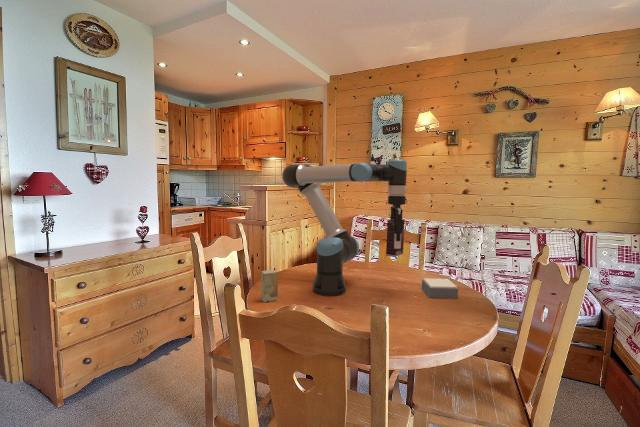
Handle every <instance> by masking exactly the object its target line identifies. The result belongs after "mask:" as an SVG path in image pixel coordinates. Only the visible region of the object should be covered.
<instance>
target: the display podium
mask: <svg viewBox="0 0 640 427" xmlns="http://www.w3.org/2000/svg"><path fill="white" fill-rule="evenodd" d="M422 278H423V277H422ZM421 290H422V291H423V292H424V293H425V295H426V296H427V297H428V298H429V299H458V298H459V288H458V286H457V285H456V284H454V283H453V282H452V281H451V280H450V279H448V278H427V277H425V278H423V279H422V280H421Z"/></svg>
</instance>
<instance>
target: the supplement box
mask: <svg viewBox="0 0 640 427" xmlns="http://www.w3.org/2000/svg"><path fill="white" fill-rule="evenodd" d="M405 221H406V220H405V219H403V218H402V229H403V232H402V233H401V249H395V248H394V233H393V232H395V220H394V219H391V220H390V219H387V223H386V224H387V226H386V228H387V229H386V230H387V231H386V244H385V245H386V248H385V256H387V257H391V258H397V257H399V256H401V255H404V242H405Z"/></svg>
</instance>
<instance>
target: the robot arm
mask: <svg viewBox="0 0 640 427" xmlns="http://www.w3.org/2000/svg"><path fill="white" fill-rule="evenodd" d="M407 163H408V162H407V160H405V159H399V158H397V159H389V161H388V163H386V164H377V163H376V164H375V163H366V162H358V163H347V164H331V165H318V166H317V165H315V166H313V165H310V164H297V163H293V164H292V163H291V164H289V165H287V166H286V167H285V168H284V169H283V171H282V175H281V176H282V177H281V178H282V180H283V183H284V184H285V185H286V186H287V187H289V188H292V189H298V191H299V193H300V195H301V196H304V197H306V199H307V201H308V203H309V206H310V207H311V209H312V211H313V213H314V215H315V217H316V219H317V220H318V223H319V225H320V227H321V228H322V230H323V232H324V233H325V235H326V237H324V238H322V239H320V240H319V241H318V242H317V244H316V275H315V279H314V281H313V284H312V291H313V293H315V294H317V295H320V296H326V297H328V296H329V297H336V296H340V295H343V294H346V292H347V284H346V282H345V277H344V275H343V264H345V263H347V262H350V261H352V260H353V259H355V258H356V257H357V255H358V253H359V250H360V245H359V242H358V240H357V239H356V237H354V236H352V235H350V233H349V232H348V230H347V229H343V227H342V225H341V223H340V221H339V219H338V217H337V216H336V214H335V213H334V210H333V209H332V207H331V205H330V203H329V202H328V200H327V198H326V196H325V194H324V192H323V190H322V189H321V186H322V184H324V183H325V184H326V183H348V182H349V183H350V182H351V183H352V182H355V183H356V182H357V183H359V182H361V183H362V182H363V183H365V182H388V186H387V194H388V197H387V204H388V205H392V206H390V216H389V220H391V219H394V220H395V232H393V233H394V248H395V249H401V233H402V232H403V229H402V219H403V209H402V207H401V206H402V205H403V206H404V205H405V204H406V200H407V198H406V196H405V195H406V193H407V192H406V190H408V187H407V173H408V172H407V171H408V167H407Z"/></svg>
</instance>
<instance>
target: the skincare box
mask: <svg viewBox="0 0 640 427" xmlns="http://www.w3.org/2000/svg"><path fill="white" fill-rule="evenodd" d="M278 281H279V272H278V271H277V269H268V270H261V271H260V300H261V301H262V302H263V303H266V302H267V301H269V302H274V301H273V300H276V301H278V299H279V298H278V295H279V294H278V293H279V292H278V289H279V288H278V286H279V282H278ZM267 303H268V302H267Z"/></svg>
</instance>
